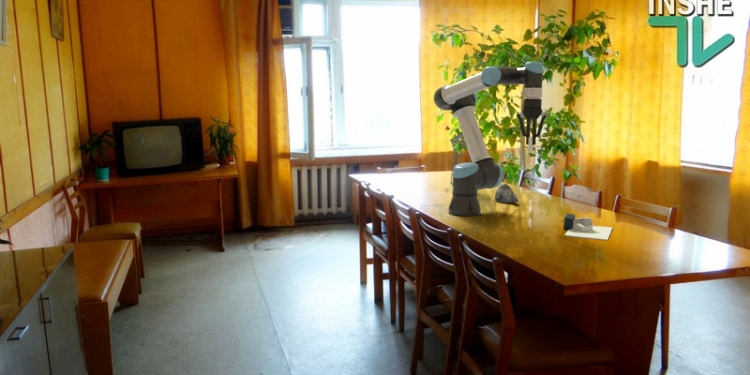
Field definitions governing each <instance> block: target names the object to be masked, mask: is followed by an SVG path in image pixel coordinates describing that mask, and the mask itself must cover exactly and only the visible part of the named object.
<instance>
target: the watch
mask: <svg viewBox="0 0 750 375" xmlns="http://www.w3.org/2000/svg"><path fill="white" fill-rule="evenodd" d="M578 224H579V225H578ZM580 225H582V226H584V227H581V226H580ZM593 226H594V222H593V220H592V218H590V217H589V216H587V217H578V218H576V214H572V213H566V215H565V216H564V220H563V227H562V228H563V230H565V231H568V230H569V229H572V228H574V229H576V230H578V231H582V232H590V231H592V229H593ZM583 228H584V229H583Z"/></svg>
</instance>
